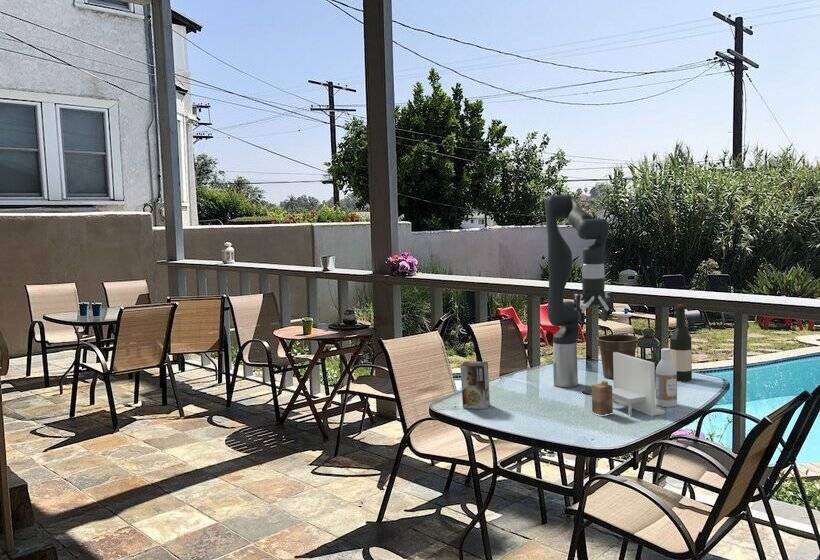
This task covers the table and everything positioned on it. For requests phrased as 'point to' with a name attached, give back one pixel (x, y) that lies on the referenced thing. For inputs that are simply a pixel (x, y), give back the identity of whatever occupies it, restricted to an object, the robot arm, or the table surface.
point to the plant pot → (615, 350)
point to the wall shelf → (634, 384)
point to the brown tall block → (602, 398)
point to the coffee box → (475, 385)
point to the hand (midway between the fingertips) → (593, 322)
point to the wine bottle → (681, 347)
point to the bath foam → (666, 381)
